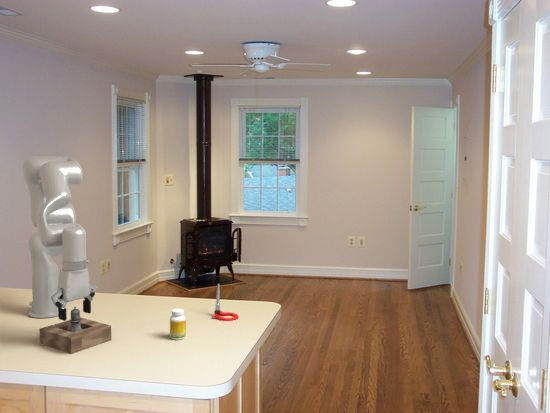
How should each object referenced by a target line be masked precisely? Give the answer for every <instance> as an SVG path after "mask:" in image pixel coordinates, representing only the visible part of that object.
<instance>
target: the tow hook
mask: <svg viewBox="0 0 550 413" xmlns="http://www.w3.org/2000/svg"><path fill="white" fill-rule="evenodd" d="M220 288H221V286H220V283H217V288H216V300H215V301H216V302H215V308H214V309H215V310H214V313H213V315H212V316H211V318H212V319H213V320H215V319H217V320H218V321H219V320H220V321H222V320H223V321H222V322H232V321H233V320H234V321H237V320H238V319H239V317H240V316H239V314H237V313H234V312H229V311H228V312H227V311H226V312H223V311H222V310H221V308H220V307H221V304H220V299H221V289H220ZM224 316H229V317H224ZM230 316H231V317H230ZM236 319H237V320H236ZM234 321H233V322H234Z"/></svg>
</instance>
